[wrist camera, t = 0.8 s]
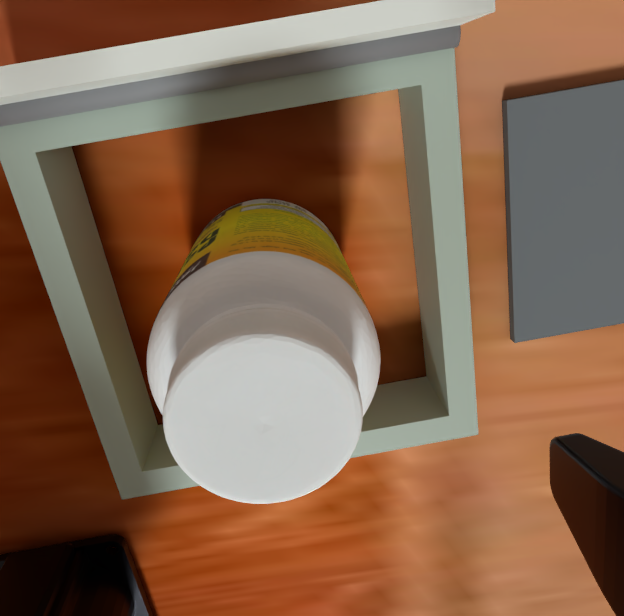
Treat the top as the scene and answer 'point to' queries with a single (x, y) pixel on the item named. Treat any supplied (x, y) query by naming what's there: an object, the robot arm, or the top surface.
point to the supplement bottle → (263, 356)
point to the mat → (565, 210)
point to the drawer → (229, 104)
